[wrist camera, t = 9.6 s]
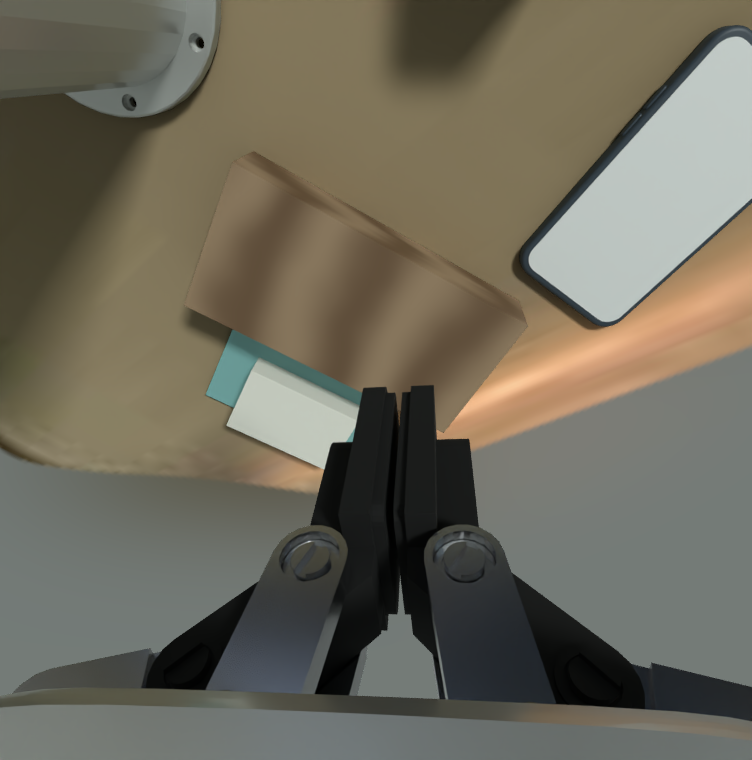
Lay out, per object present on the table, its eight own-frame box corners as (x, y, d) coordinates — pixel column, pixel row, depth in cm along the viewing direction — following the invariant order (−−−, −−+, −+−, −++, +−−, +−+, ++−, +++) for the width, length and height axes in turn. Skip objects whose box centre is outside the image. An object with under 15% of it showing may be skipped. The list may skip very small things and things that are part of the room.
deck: (206, 282, 37) (183, 305, 33) (253, 151, 32) (232, 162, 28) (442, 401, 40) (443, 432, 37) (518, 300, 35) (528, 326, 32)
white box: (251, 370, 38) (259, 357, 39) (226, 425, 41) (234, 410, 42) (359, 421, 39) (362, 406, 41) (327, 470, 42) (331, 455, 44)
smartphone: (602, 325, 36) (825, 121, 28) (608, 335, 35) (844, 124, 27) (508, 254, 34) (720, 12, 26) (511, 263, 33) (735, 10, 25)
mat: (207, 392, 42) (205, 394, 42) (243, 305, 37) (241, 307, 37) (346, 456, 44) (346, 459, 44) (396, 382, 40) (396, 385, 39)
